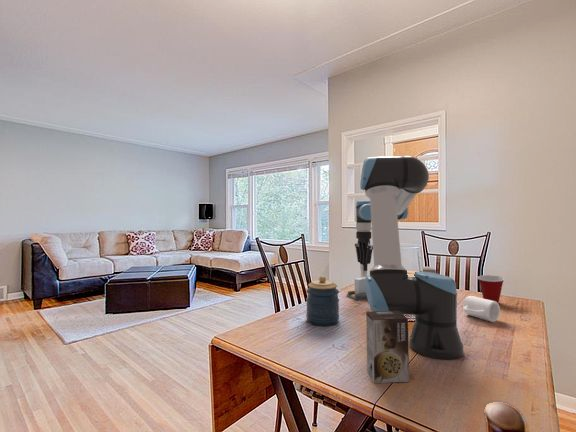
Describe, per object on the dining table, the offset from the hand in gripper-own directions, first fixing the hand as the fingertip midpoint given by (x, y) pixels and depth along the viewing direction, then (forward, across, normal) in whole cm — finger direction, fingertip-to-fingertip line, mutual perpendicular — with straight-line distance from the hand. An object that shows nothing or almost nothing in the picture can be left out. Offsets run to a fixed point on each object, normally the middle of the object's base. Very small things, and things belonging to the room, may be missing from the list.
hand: (364, 276), depth 156 cm
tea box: (+10, -11, -25) cm, 29 cm away
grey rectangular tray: (+10, 0, 0) cm, 10 cm away
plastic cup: (+10, -33, -48) cm, 59 cm away
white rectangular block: (+9, 0, 0) cm, 9 cm away
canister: (+10, -23, +37) cm, 45 cm away
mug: (+10, -46, -21) cm, 52 cm away
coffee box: (+10, -66, +42) cm, 79 cm away
